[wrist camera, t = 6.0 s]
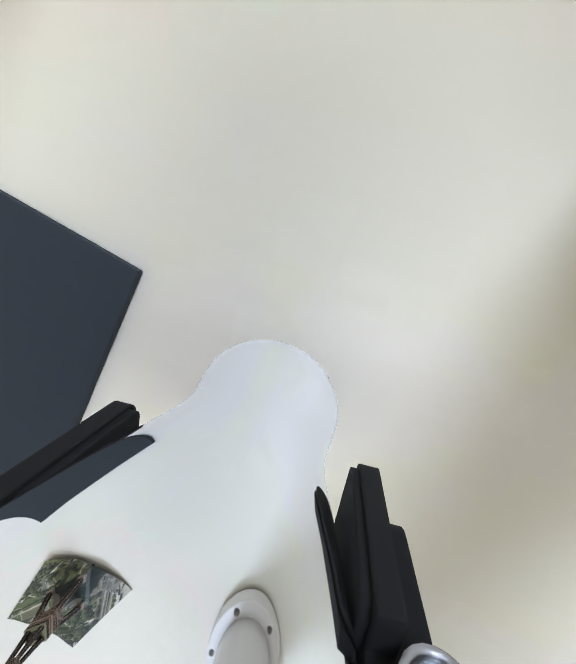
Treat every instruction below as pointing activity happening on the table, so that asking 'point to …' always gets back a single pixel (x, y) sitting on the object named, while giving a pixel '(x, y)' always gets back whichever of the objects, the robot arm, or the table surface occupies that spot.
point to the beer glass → (189, 532)
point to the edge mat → (52, 325)
